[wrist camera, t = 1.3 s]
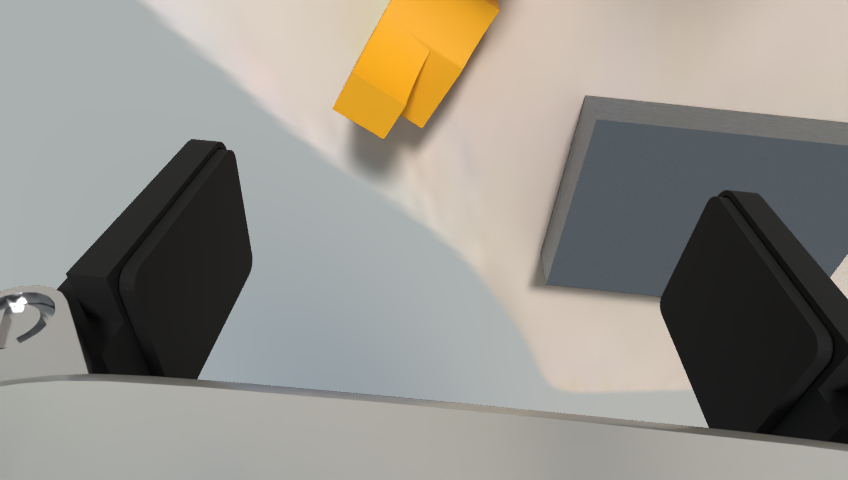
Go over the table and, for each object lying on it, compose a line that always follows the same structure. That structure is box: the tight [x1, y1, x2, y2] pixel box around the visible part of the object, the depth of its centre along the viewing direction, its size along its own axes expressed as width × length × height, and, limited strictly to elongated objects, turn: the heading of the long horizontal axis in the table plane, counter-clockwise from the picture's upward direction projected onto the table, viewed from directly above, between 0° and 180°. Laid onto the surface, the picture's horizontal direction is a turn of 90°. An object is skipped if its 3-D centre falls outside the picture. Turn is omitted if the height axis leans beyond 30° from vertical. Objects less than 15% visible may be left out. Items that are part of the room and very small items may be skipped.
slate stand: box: [541, 96, 848, 297], centre depth 30 cm, size 16×11×3 cm
